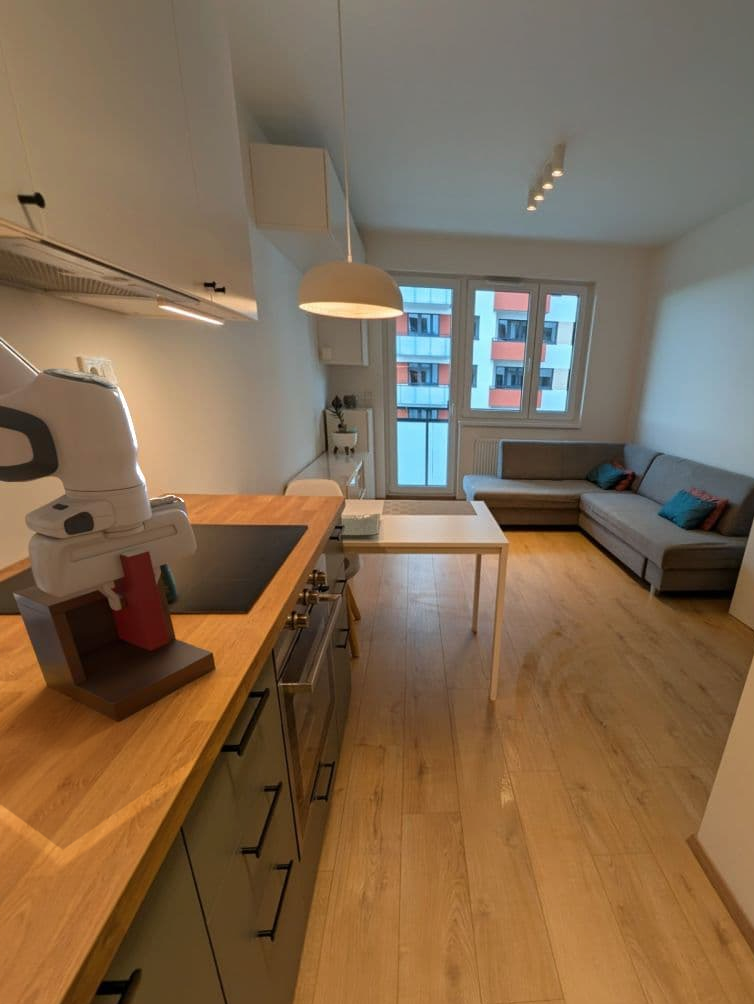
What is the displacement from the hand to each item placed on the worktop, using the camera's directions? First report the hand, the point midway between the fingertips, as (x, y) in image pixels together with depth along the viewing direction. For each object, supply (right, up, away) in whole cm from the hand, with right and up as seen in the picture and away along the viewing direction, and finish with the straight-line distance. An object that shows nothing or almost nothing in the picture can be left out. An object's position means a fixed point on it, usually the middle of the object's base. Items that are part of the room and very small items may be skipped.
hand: (134, 602), depth 72 cm
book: (0, -6, +3) cm, 6 cm away
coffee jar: (-18, 0, +34) cm, 39 cm away
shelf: (-5, -12, +8) cm, 15 cm away
